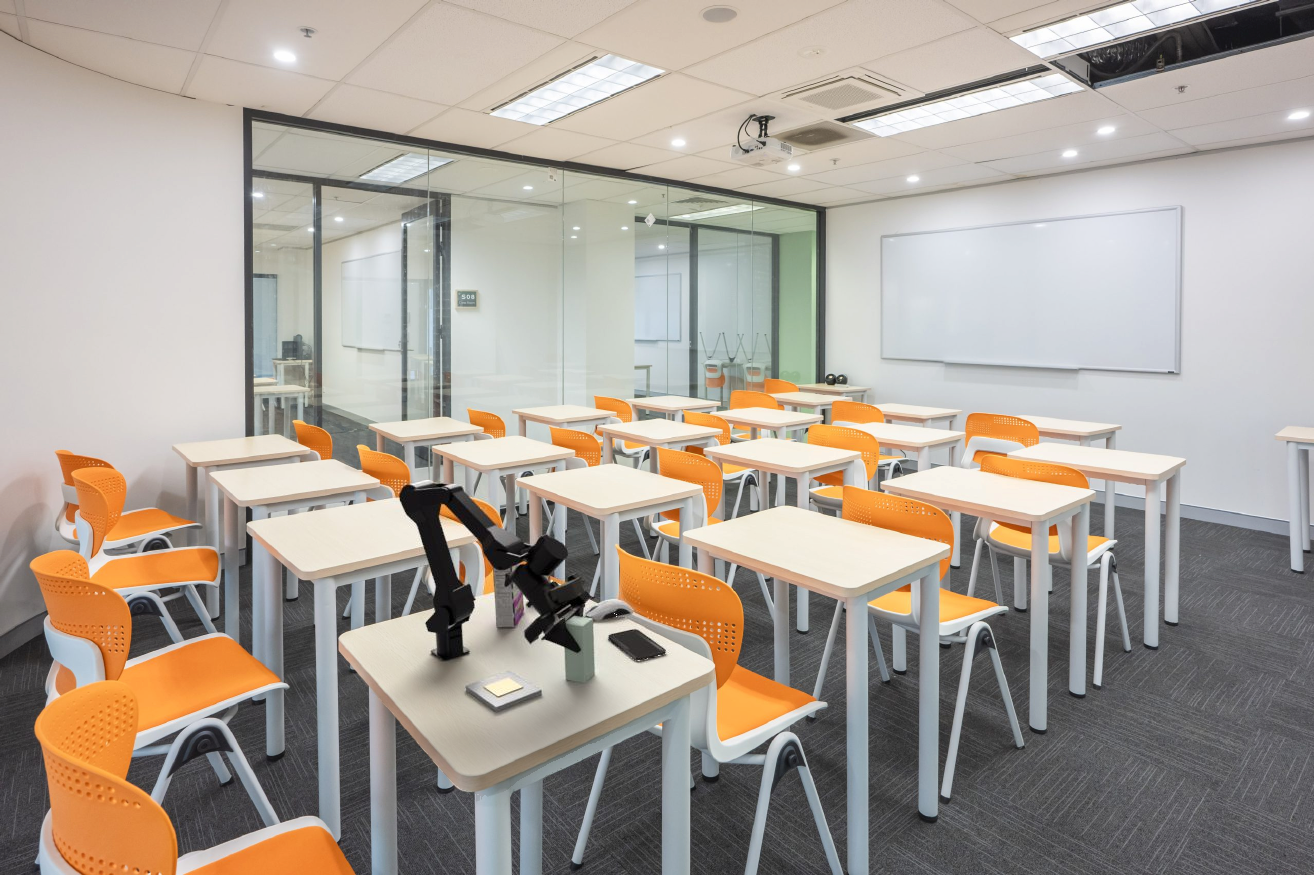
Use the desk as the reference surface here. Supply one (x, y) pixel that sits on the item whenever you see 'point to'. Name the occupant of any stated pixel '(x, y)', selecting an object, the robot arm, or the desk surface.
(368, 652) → the desk surface
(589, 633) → the sage block
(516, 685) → the pad
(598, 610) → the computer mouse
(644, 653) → the phone
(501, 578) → the candy bar box
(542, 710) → the desk surface
